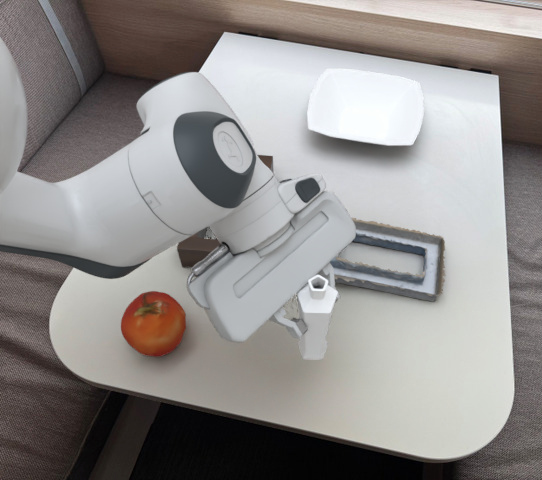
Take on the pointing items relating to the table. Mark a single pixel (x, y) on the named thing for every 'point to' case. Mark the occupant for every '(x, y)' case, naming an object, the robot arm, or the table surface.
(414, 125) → the bowl
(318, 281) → the perfume bottle
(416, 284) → the picture frame
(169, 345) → the tomato
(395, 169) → the table surface
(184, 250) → the rack
